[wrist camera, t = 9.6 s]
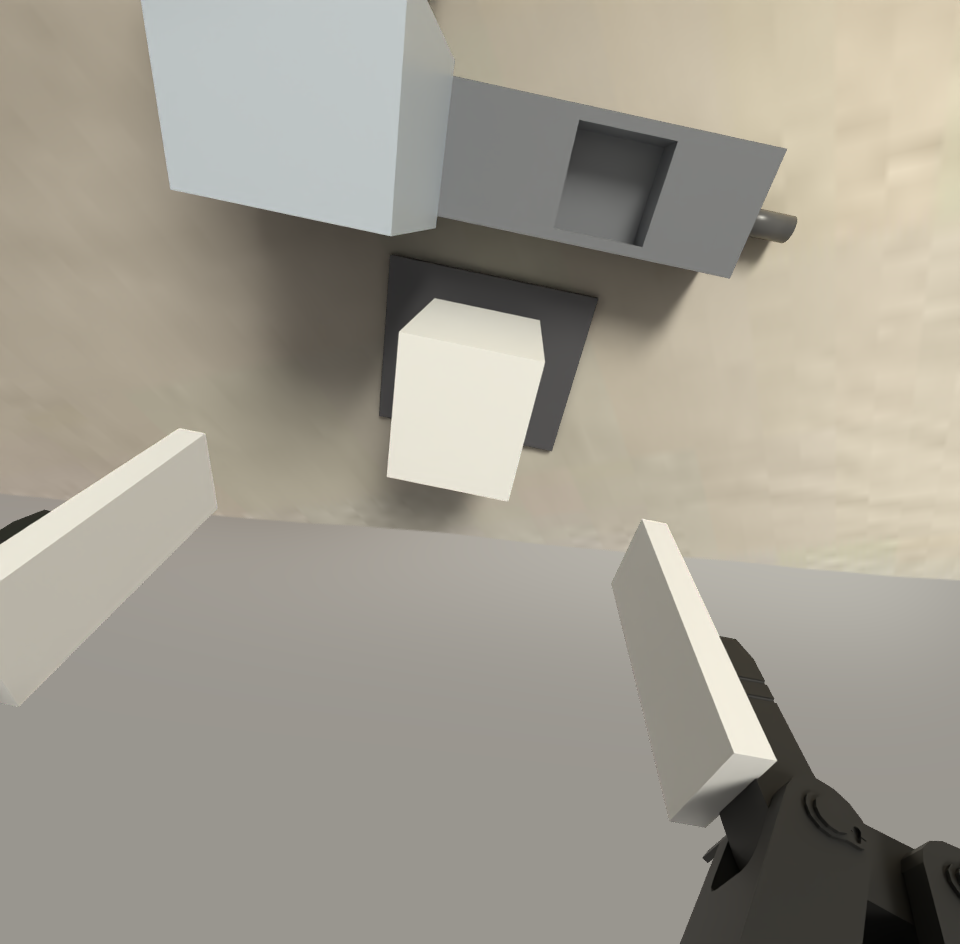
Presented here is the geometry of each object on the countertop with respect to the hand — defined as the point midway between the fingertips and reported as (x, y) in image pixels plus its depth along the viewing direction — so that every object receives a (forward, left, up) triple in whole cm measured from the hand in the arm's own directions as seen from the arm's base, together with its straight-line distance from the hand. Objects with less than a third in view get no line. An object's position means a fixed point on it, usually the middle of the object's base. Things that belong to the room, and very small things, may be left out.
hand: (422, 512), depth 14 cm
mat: (0, 0, -17) cm, 17 cm away
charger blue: (-6, +10, -14) cm, 18 cm away
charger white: (0, 0, -16) cm, 16 cm away
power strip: (+1, +10, -17) cm, 19 cm away
